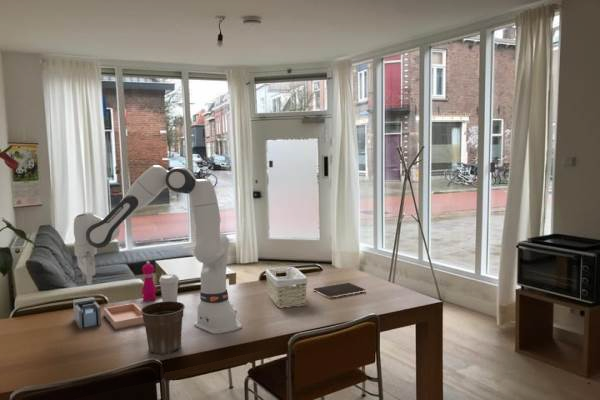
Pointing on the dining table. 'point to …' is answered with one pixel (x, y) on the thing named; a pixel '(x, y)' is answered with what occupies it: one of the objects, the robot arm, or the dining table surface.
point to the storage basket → (286, 287)
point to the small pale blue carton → (88, 315)
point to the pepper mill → (148, 282)
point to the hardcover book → (338, 289)
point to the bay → (78, 311)
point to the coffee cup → (169, 287)
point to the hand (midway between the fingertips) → (87, 281)
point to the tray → (124, 316)
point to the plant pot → (163, 326)
